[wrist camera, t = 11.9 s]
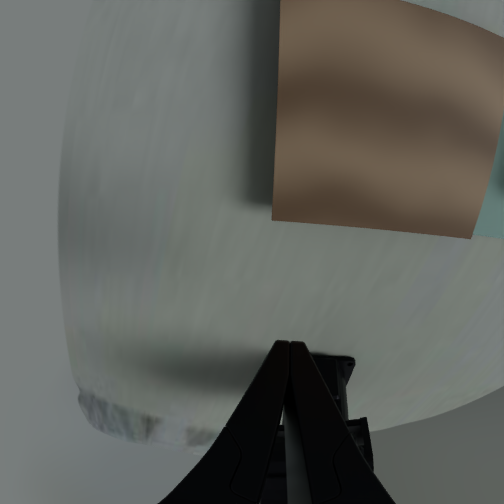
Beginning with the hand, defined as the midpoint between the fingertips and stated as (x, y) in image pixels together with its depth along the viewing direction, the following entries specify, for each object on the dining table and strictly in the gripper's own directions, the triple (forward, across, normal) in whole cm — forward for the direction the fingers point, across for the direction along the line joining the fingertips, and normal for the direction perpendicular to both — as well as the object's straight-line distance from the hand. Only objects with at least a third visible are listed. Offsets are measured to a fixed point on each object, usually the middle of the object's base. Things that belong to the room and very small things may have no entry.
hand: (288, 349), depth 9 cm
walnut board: (+12, -6, -5) cm, 14 cm away
